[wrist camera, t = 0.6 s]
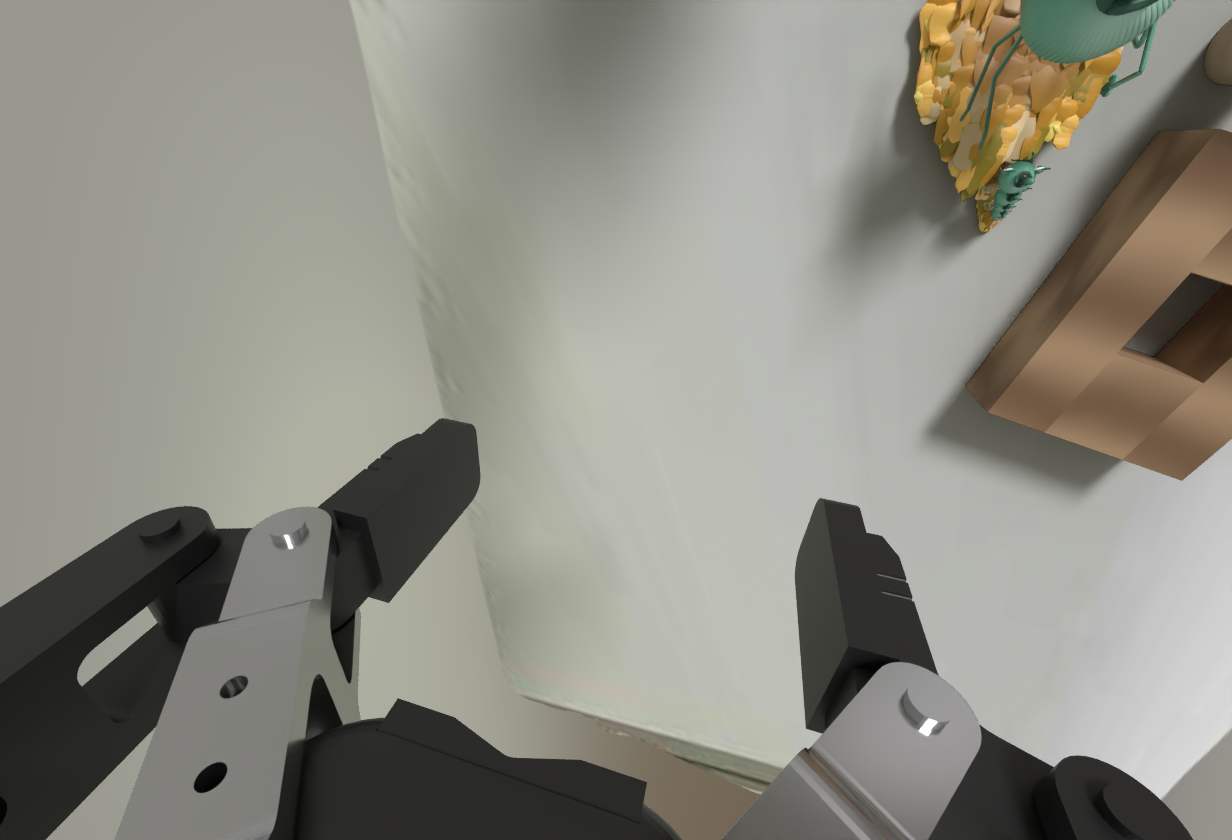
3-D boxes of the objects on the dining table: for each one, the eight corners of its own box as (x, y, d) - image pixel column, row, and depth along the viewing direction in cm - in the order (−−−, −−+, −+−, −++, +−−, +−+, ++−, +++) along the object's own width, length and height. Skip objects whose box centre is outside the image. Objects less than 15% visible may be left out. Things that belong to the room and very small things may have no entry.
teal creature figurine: (858, 228, 31) (932, 233, 18) (956, -159, 24) (1198, -617, 11) (1027, 241, 29) (1249, 258, 16) (1189, -177, 22) (1835, -769, 9)
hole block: (1157, 131, 26) (1218, 128, 22) (1399, 202, 25) (1502, 210, 21) (964, 386, 34) (987, 412, 31) (1138, 446, 33) (1182, 480, 30)
